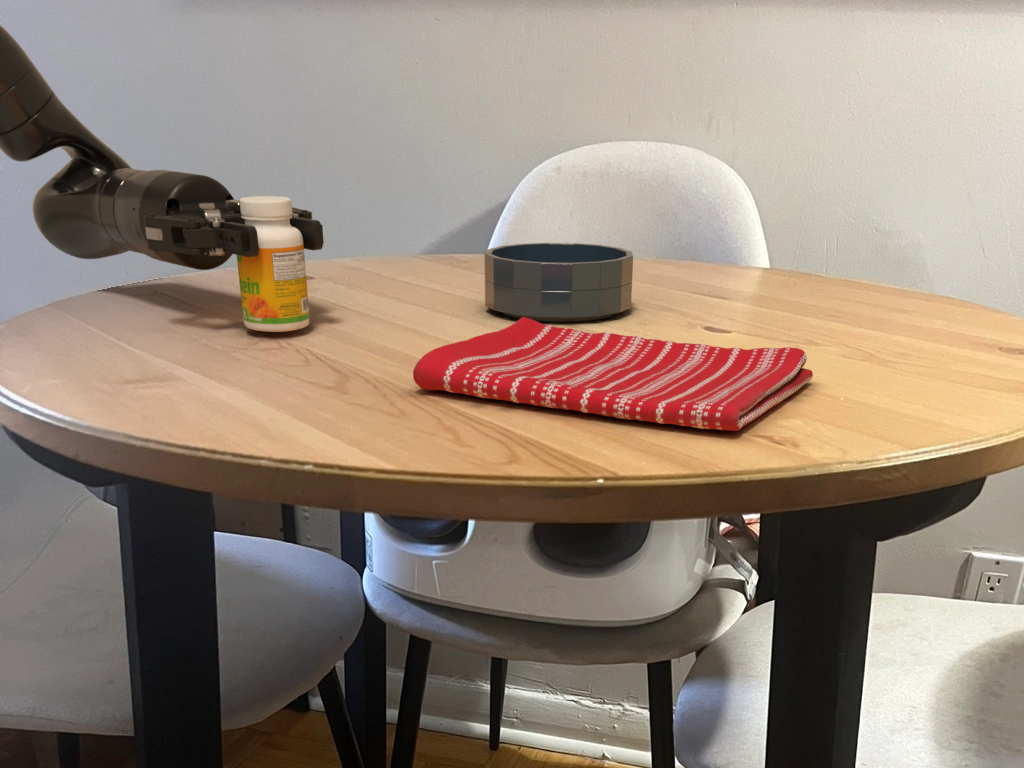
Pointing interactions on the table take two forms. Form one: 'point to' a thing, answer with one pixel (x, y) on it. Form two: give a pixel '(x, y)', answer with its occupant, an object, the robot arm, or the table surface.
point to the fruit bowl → (558, 281)
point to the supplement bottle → (273, 268)
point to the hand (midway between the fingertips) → (286, 238)
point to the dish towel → (617, 375)
